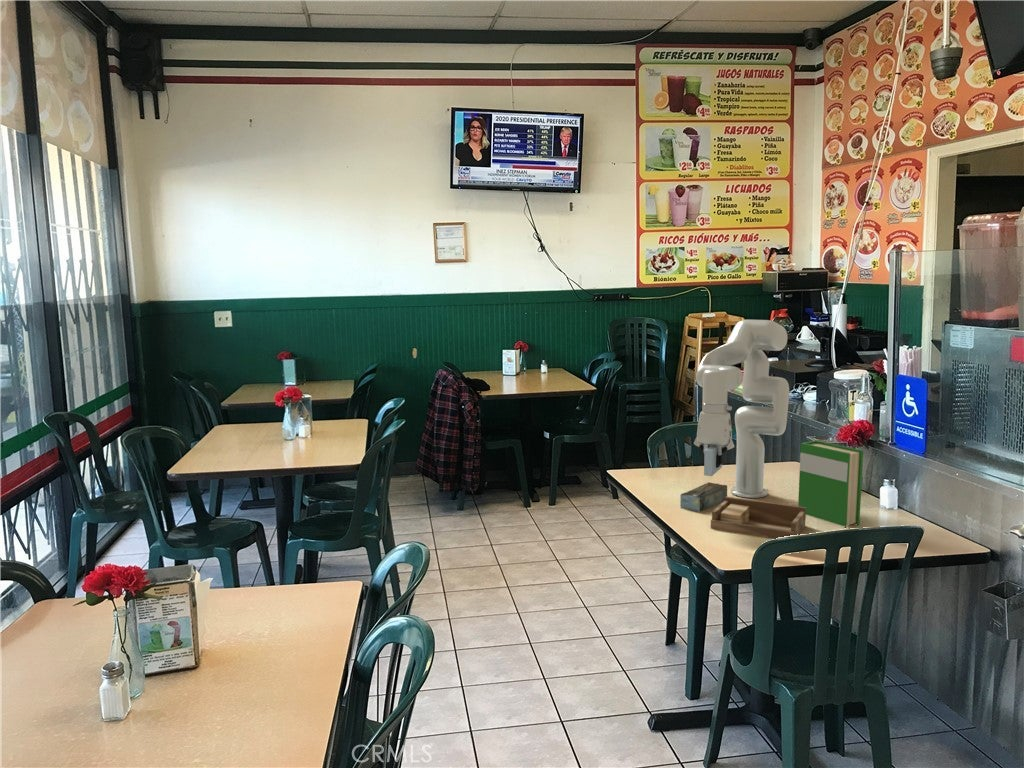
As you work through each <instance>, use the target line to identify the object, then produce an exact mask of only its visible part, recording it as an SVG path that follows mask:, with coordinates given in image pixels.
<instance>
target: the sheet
mask: <svg viewBox="0 0 1024 768" xmlns="http://www.w3.org/2000/svg"><path fill="white" fill-rule="evenodd" d="M717 453H718V445H710V446H709V447H708V448H707V449H705V454H704V453H703V454H704V462H703V463H704V464H703V467H704V469H703V476H706V477H713V476H714V475H716V473H718V472H719V471H720V470H721V469H722V468H723V464H722V465H720V467H718V468H716V455H717Z"/></svg>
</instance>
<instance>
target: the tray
mask: <svg viewBox="0 0 1024 768" xmlns="http://www.w3.org/2000/svg"><path fill="white" fill-rule="evenodd" d="M730 504H736V505H743V506H750V507H749V521H748V522H747V523H746V524H740V523H734V522H727V521H720V519H721V512H722V511H723V510H724V509H726V508H727V507H728V506H729V505H730ZM806 516H807V515H806V507H801V506H798V505H793V504H787V503H786V504H785V503H777V502H769V501H761V500H755V499H750V498H749V499H746V498H743V497H740V498H739V497H735V496H734V497H733V496H728V495H727V496H726V497H725V501H723V502H721V503H719V504H718V505H717V506H716V507H715V508H714V509H713V510H712V512H711V519H710V529H713V530H719V531H720V530H721V531H725V532H731V533H732V532H733V533H738V534H744V535H745V534H747V535H752V536H756V537H764V538H771V539H776V538H778V537H784V536H790V535H797V534H799V535H800V534H801V532H802V531H803V529H804V528H805V527H806Z"/></svg>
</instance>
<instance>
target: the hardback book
mask: <svg viewBox="0 0 1024 768" xmlns="http://www.w3.org/2000/svg"><path fill="white" fill-rule="evenodd" d="M863 462H864V450H863V449H859V448H858V449H857V448H854V447H853V448H852V447H849V446H843V445H839V444H835V443H830V442H825V441H821V440H810V441H805V442H801V443H800V455H799V477H798V478H799V479H798V501H797V503H798V505H797V506H801V507H806V516H809V517H810V516H811V517H813V518H817V519H821V520H823V521H827V522H830V523H833V524H836V525H840V526H843V527H844V528H846V529H847V526H849V525H854V524H857V525H856V526H860V519H861V503H862V502H861V501H862V484H863V483H862V482H863V481H862V480H863V465H864V463H863ZM844 528H843V529H844Z"/></svg>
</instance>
